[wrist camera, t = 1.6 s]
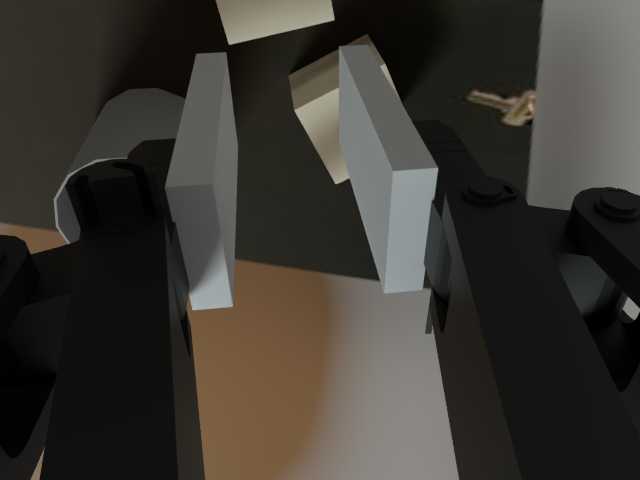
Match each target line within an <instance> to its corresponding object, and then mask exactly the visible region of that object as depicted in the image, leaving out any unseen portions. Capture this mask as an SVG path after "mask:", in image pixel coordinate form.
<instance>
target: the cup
mask: <svg viewBox="0 0 640 480" xmlns="http://www.w3.org/2000/svg"><path fill="white" fill-rule="evenodd" d="M185 100H186V99H185V98H183V97H180V96H177V95H175V94H172V93H169V92H167V91H164V90H161V89H159V88H145V89H129V90H127V91H125V92H123V93H122V94H120V95H118V96H116V97H114V98H113V99H111V100H109V101H107V102H106V104H105V106H104V107H103V109H102V111H101V113H100V114H99V116H98V118H97V120H96V121H95V123H94V125H93V127H92V129H91V131H90V133H89V134H88V136H87V138H86V140H85V142H84V144H83V146H82V148H81V149H80V151H79V153H78V155H77V157H76V159H75V161H74V163H73V164H72V166H71V168H70V170H69V172H68V174H67V176H66V177H65V179H64V181H63V183H62V185H61V187H60V189H59V191H58V192H57V194H56V196H55V198H54V207H55V218H56V227H57V228H58V230H59V231H60V233H61V234H62V236H63V237H64V239H65V240H66V242H67V243H68V244H70V243H73V242H75V241H77V240H79V236H80V230H81V229H80V226H79V223H78V221H77V218H76V215H75V212H74V209H73V207H72V204H71V201H70V198H69V195H68V193H67V190H66V187H65V184H66V183H67V181H68V179H69V178H70V176H72V175H73V174H74V173H76V172H77V171H79V170H80V169H82V168H84V167H86V166H89V165H91V164H94V163H96V162H101V161H105V160H110V159H123V158H127V157H128V154H129V152H130V151H131V150H132V149H134V148H135V147H136V146H137V145H138V144H139V143H141V142H142V141H143V140H156V139H171V138H177V134H178V130H179V125H180V121H181V117H182V113H183V109H184V104H185Z"/></svg>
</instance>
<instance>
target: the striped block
mask: <svg viewBox="0 0 640 480" xmlns="http://www.w3.org/2000/svg"><path fill="white" fill-rule="evenodd" d="M354 45H368V46H369V48H370V50H371V51H372V53H373V55H374V57H375V58H376V60H377V62H378V64H379V65H380V67H381V69H382V71H383V72H384V74H385V76H386V78H387V79H388V81H389V83H390V85H391V86H392V88H393V90H394V92H395V93H396V95H397V97H398V99H399V100H400V98H399V96H398V93H397V91H396V88H395V86H394V84H393V81H392V79H391V76H390V74H389V72H388V69H387V67H386V64H385V63H384V61H383V59H382V58H381V56H380V54H379V53H378V51H377V49H376V48H375V46H374V44H373V43H372V41H371V39H370V38H369V36H368V34H366V35H364V36H362V37H360V38H358V39H357V40H355V41H353V42H351V43H349V44H347V45H345V46H354ZM289 81H290V87H291V93H292V99H293V105H294V110H295V112H296V114H297V116H298V118H299V119H300V121H301V123H302V125H303V126H304V128H305V130H306V132H307V134H308V135H309V137H310V139H311V141H312V142H313V144H314V146H315V148H316V150H317V151H318V153H319V155H320V157H321V159H322V160H323V162H324V164H325V166H326V167H327V169H328V171H329V173H330V175H331V176H332V178H333V180H334V182H335V183H336V184H338V183H340V182H342V181H344V180H346V179H348V178H350V177H349V174H348V170H347V167H346V163H345V160H344V157H343V153H342V150H341V147H340V143H339V49H338V50H336V51H334V52H332V53H330V54H328V55H326V56H324V57H323V58H321V59H319V60H317V61H315V62H313V63H311V64H309V65H307V66H306V67H304V68H302V69H300V70H298V71H296V72H294V73H292V74H290V75H289ZM400 102H401V100H400ZM401 104H402V103H401ZM402 106H403V105H402Z"/></svg>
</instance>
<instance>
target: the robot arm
mask: <svg viewBox="0 0 640 480" xmlns="http://www.w3.org/2000/svg"><path fill="white" fill-rule="evenodd" d="M339 143H340V147H341V150H342V153H343V157H344V160H345V163H346V167H347V170H348V174H349V177H350V180H351V184H352V187H353V190H354V194H355V197H356V200H357V204H358V207H359V210H360V214H361V217H362V221H363V224H364V227H365V231H366V234H367V237H368V241H369V244H370V247H371V251H372V254H373V258H374V261H375V264H376V268H377V271H378V274H379V278H380V281H381V284H382V288H383V291H384V293H394V292H405V291H416V290H422V288H423V280H424V273H425V269H426V271H427V273H428V276H429V278H430V281H431V283H432V289H431V296H430V303H429V310H428V316H427V323H426V334H431V331H432V325H433V330H434V334H435V341H436V347H437V353H438V358H439V364H440V370H441V376H442V382H443V388H444V393H445V399H446V405H447V411H448V417H449V423H450V428H451V434H452V440H453V446H454V452H455V458H456V464H457V469H458V475H459V480H640V313H639V315H638V317H637V318H636V319H635V320H633V319H632V318H631V317H629V316H628V315H627V314H626V313H625V311H624V310H623V307H624V305H625V302H626V300H627V298H628V297H629V298H630V299H631V300H632V301H633V302H634V303H635V304H636V305H637V306H638V307H639V308H640V196H639V195H636V194H633V193H630V192H628V191H627V190H623V189H619V188H617V189H615V188H612V187H606V188H590V189H587V190H583V191H581V192H580V193H578V194H577V195H576V196H575V198H574V201H573V204H572V207H571V210H570V211H569V210H560V209H550V208H543V207H536V206H530V205H528V204H527V202H526V199H525V197H524V195H523V194H522V193H521V192H520V191H519V189H518V188H517V187H515V186H514V185H512V184H510V183H508V182H507V181H504V180H501V179H497V178H494V177H489V176H486V175H485V174H484V172H483V171H482V169H481V168H480V166H479V165H478V164H477V162H476V161H475V159H474V158H473V156H472V155H471V154H470V152H468V149H467V148H466V146H465V145H464V144H463V143H461V139H460V138H459V137H458V135H457V134H456V132H455V131H454V129H452V128H451V127H449V126H447V125H446V124H444V123H442V122H440V121H439V120H424V121H411V119H410V118H409V116H408V114H407V113H406V111H405V109H404V107H403V106H402V104H401V102H400V100H399V99H398V97H397V95H396V93H395V92H394V90H393V88H392V86H391V85H390V83H389V81H388V79H387V78H386V76H385V74H384V72H383V71H382V69H381V67H380V65H379V64H378V62H377V60H376V58H375V57H374V55H373V53H372V51H371V50H370V48H369V46H368V45H354V46H339ZM237 163H238V144H237V136H236V128H235V119H234V111H233V103H232V95H231V87H230V79H229V71H228V63H227V55H226V52H222V53H203V54H196V58H195V62H194V66H193V71H192V75H191V79H190V83H189V87H188V92H187V96H186V100H185V104H184V109H183V113H182V117H181V121H180V125H179V130H178V134H177V138H171V139H156V140H143V141H142V142H141V143H139V144H138V145H137V146H136V147H135V148H134V149H132V150H131V151H130V152H129V154H128V157H127V158H123V159H110V160H105V161H101V162H96V163H94V164H91V165H89V166H86V167H84V168H82V169H80V170H79V171H77V172H76V173H74V174H73V175H72V176H70V178H69V179H68V181H67V183H66V184H65V187H66V190H67V193H68V195H69V198H70V201H71V204H72V207H73V209H74V212H75V215H76V218H77V221H78V223H79V226H80V229H81V230H80V236H79V240H77V241H75V242H73V243H70V244H67V245H64V246H61V247H57V248H53V249H50V250H46V251H42V252H38V253H35V254H30V252H29V250H28V247H27V245H26V243H25V241H23V240H21V239H19V238H18V237H15V236H8V235H0V480H30V479H31V477H32V475H33V473H34V470H35V468H36V466H37V463H38V461H39V459H40V456H41V454H42V452H43V450H44V456H43V462H42V468H41V474H40V480H205V473H204V463H203V452H202V441H201V431H200V420H199V410H198V399H197V389H196V378H195V368H194V357H193V346H192V335H191V326H190V322H189V318H188V314H187V310H186V308H187V300H188V293H189V295H190V300H191V305H192V309H193V310H201V309H212V308H224V307H233V287H234V286H233V285H234V256H235V225H236V194H237ZM44 447H45V449H44Z"/></svg>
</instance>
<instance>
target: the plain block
mask: <svg viewBox="0 0 640 480" xmlns="http://www.w3.org/2000/svg"><path fill="white" fill-rule="evenodd" d="M216 3H217V6H218V10H219V13H220V16H221V20H222V23H223V26H224V30H225V33H226V37H227V40H228V43H229V45H231V44H235V43H239V42H244V41H248V40H252V39H256V38H261V37H265V36H269V35H273V34H278V33H282V32H286V31H290V30H295V29H299V28H303V27H307V26H312V25H316V24H320V23H325V22H329V21H333V20H334V14H333V8H332V2H331V0H216Z"/></svg>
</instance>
